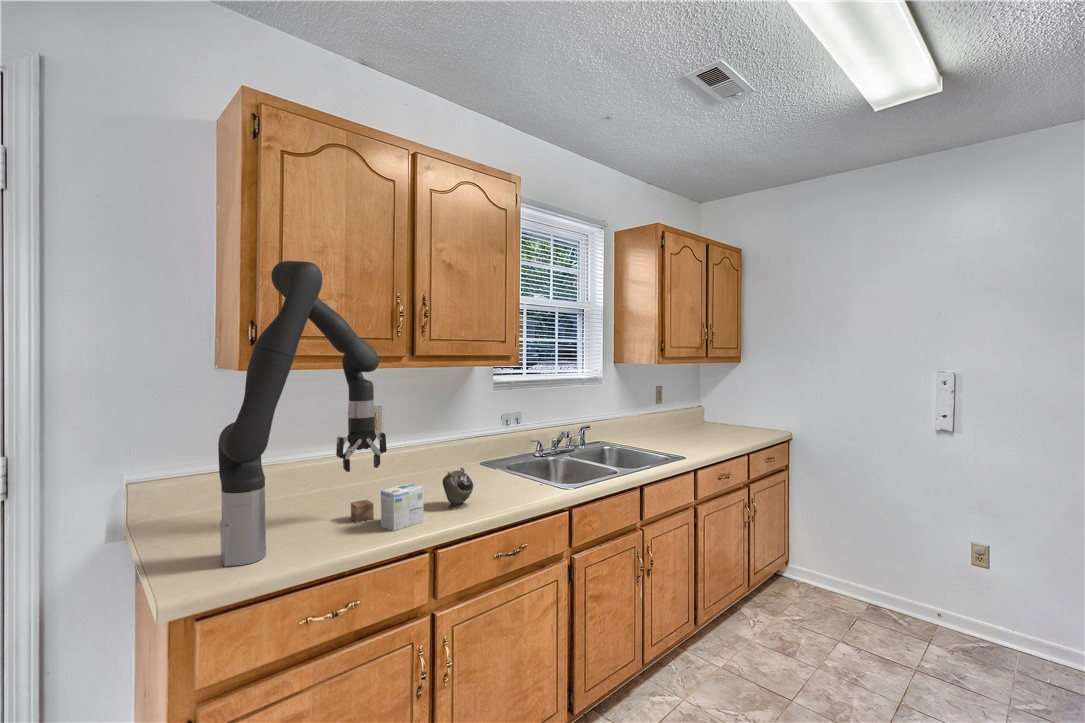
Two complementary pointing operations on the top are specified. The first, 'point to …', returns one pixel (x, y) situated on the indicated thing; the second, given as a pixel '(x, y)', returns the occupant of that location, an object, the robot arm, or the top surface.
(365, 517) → the walnut cube
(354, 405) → the robot arm
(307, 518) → the top surface
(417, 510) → the light bulb box
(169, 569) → the top surface
